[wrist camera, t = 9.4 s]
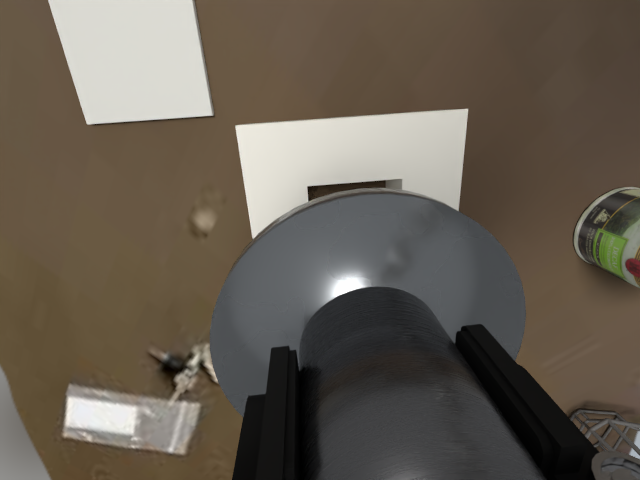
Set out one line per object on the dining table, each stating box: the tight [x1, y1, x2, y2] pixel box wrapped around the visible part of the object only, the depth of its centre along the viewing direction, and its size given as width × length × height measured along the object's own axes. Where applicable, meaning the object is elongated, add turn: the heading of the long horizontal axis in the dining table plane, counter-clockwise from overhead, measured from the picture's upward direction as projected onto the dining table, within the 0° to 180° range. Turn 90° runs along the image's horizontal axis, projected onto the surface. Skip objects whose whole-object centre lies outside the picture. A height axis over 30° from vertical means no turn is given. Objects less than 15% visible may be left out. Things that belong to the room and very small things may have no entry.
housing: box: [236, 109, 468, 239], centre depth 34 cm, size 20×20×6 cm
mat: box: [48, 0, 214, 124], centre depth 29 cm, size 12×12×1 cm
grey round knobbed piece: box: [210, 188, 547, 480], centre depth 11 cm, size 11×11×12 cm
